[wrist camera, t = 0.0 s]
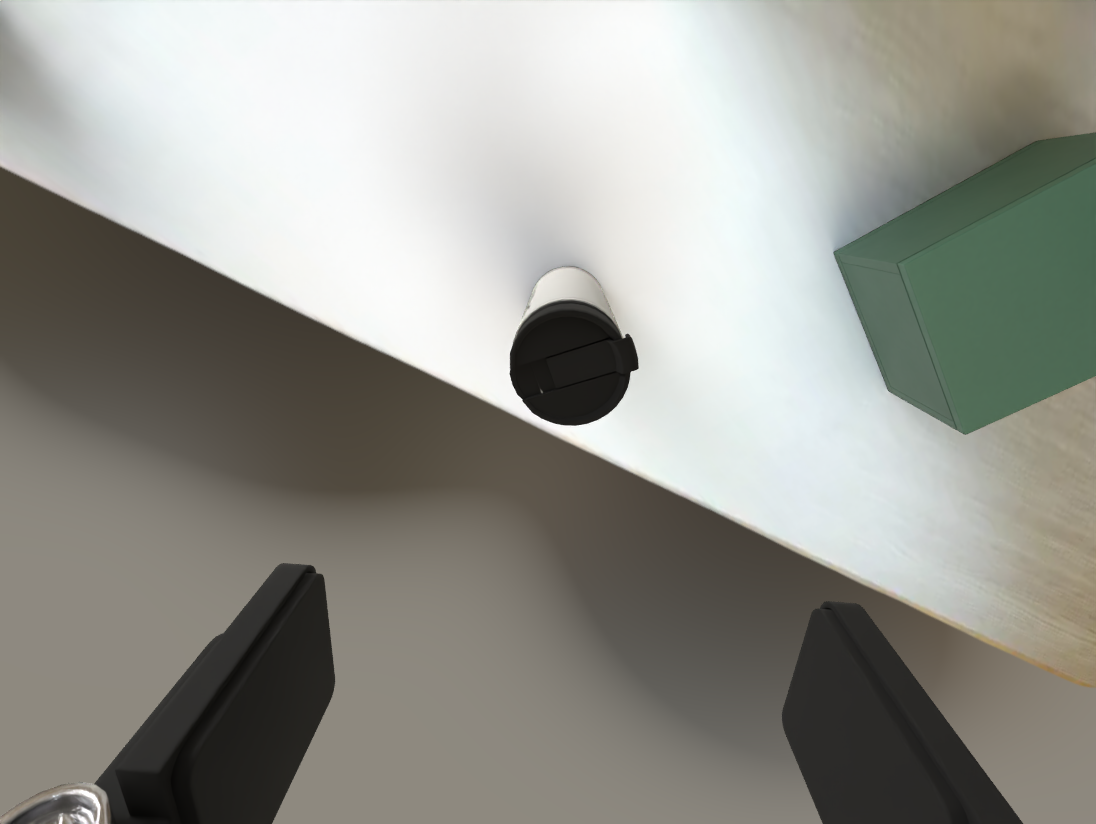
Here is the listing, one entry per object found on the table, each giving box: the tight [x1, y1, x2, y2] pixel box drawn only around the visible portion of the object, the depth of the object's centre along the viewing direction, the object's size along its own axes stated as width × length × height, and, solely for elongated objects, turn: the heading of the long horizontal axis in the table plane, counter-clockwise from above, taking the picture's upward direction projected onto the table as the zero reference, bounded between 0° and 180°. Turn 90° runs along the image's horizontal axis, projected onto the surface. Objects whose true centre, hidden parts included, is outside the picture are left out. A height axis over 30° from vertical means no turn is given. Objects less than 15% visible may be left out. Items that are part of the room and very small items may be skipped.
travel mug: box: [510, 266, 639, 426], centre depth 36 cm, size 6×7×20 cm
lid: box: [898, 159, 1096, 435], centre depth 32 cm, size 16×14×6 cm
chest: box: [834, 133, 1096, 430], centre depth 39 cm, size 16×14×9 cm
